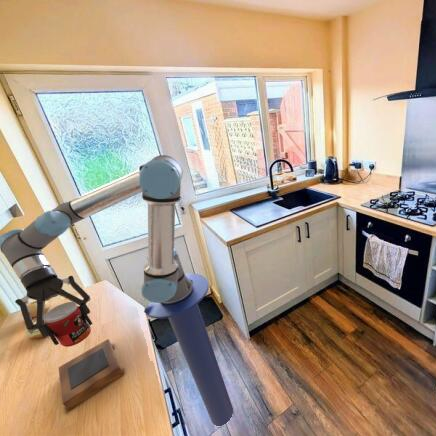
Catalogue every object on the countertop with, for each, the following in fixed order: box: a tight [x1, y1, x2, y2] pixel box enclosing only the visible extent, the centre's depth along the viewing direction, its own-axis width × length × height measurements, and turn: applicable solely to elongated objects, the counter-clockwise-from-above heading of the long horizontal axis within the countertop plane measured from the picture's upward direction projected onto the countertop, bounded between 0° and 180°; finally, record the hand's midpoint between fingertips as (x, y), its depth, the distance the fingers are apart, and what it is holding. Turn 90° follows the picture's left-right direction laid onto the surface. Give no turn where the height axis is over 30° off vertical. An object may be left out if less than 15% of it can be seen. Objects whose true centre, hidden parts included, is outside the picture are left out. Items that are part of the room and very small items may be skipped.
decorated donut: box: [25, 320, 46, 339], centre depth 99 cm, size 10×11×4 cm
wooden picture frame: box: [58, 338, 124, 411], centre depth 79 cm, size 14×16×4 cm
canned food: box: [43, 301, 92, 348], centre depth 75 cm, size 8×8×11 cm
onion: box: [27, 299, 50, 318], centre depth 108 cm, size 8×8×7 cm
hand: (74, 333), depth 74 cm, fingers closed on canned food, 8 cm apart
